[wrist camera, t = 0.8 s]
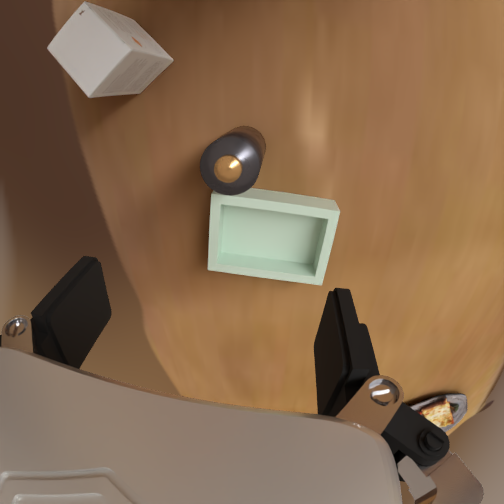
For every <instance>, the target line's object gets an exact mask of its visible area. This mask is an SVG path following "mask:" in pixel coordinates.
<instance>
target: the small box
mask: <svg viewBox="0 0 504 504" xmlns="http://www.w3.org/2000/svg"><path fill="white" fill-rule="evenodd" d="M47 49H48V51H49V52H50V53H51V54H52V55H53V57H54V58H55V59H56V60H57V61H58V62H59V64H60V65H61V66H62V67H63V68H64V69H65V71H66V72H67V73H68V74H69V75H70V77H71V78H72V79H73V80H74V81H75V82H76V84H77V85H78V86H79V87H80V88H81V90H82V91H83V92H84V93H85V94H86V95H87V97H88V98H94V97H104V96H115V95H128V94H140V93H141V92H142V91H143V90H144V89H145V88H146V87H147V86H148V85H149V84H150V83H151V82H152V81H153V80H154V79H155V78H156V77H157V76H158V75H159V74H161V73H162V72H163V71H164V70H165V69H166V68H167V67H168V66H169V65H170V64H171V63H172V62H173V61H174V60H173V59H172V58H171V57H170V56H169V55H168V54H167V53H166V52H165V50H164V49H163V48H162V47H161V46H160V45H159V44H158V43H157V42H156V41H155V40H154V39H153V38H152V37H151V36H150V35H149V34H148V33H147V32H146V31H145V30H144V29H143V28H142V27H141V26H140V25H139V24H138V23H137V22H136V21H135V20H133V19H131V18H129V17H126V16H124V15H121V14H119V13H117V12H114V11H111V10H109V9H106V8H103V7H100V6H97V5H95V4H92V3H89V2H86V1H85V2H84V3H83V4H82V5H81V6H80V7H79V8H78V9H77V10H76V11H75V13H74V14H73V15H72V16H71V17H70V19H69V20H68V21H67V22H66V23H65V25H64V26H63V27H62V28H61V30H60V31H59V32H58V34H57V35H56V36H55V37H54V39H53V40H52V42H51V43H50V44H49V46H48V47H47Z"/></svg>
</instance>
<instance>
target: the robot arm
mask: <svg viewBox="0 0 504 504" xmlns="http://www.w3.org/2000/svg"><path fill="white" fill-rule="evenodd" d="M31 314H32V317H33V318H32V319H31V320H30V319H29V318H28V317H26V316H23V315H19V316H15V317H13V318H11V319H9V320H8V321H7V322H6V323H5V324H4V326H3V328H2V335H0V504H402V497H401V488H400V482H399V480H400V481H404V482H406V483H407V484H408V486H409V487H410V489H408V490H409V492H410V493H411V494H412V495H413V498H414V500H415V504H480V503H481V501H482V499H483V495H484V493H483V487H482V485H481V483H480V482H479V481H478V480H477V478H476V477H475V476H474V475H473V474H472V472H471V471H470V470H469V469H468V467H467V466H466V465H465V464H464V463H463V461H462V460H461V459H460V458H459V457H458V455H457V454H456V453H454V454H453V455H452V453H451V452H450V451H449V439H448V436H447V435H446V433H445V432H444V431H443V430H442V429H441V428H439V427H438V426H437V425H435V424H434V423H432V422H431V421H429V420H428V419H426V418H425V417H423V416H422V415H420V414H419V413H418V412H416V411H415V410H413V409H412V408H410V407H409V406H408V405H406V404H405V403H403V402H402V401H403V398H404V393H403V390H402V387H401V386H400V385H399V383H398V382H397V381H395V380H394V379H392V378H390V377H388V376H383V375H380V374H379V370H378V366H377V362H376V358H375V354H374V351H373V347H372V343H371V339H370V336H369V332H368V328H367V326H366V325H365V324H360V323H359V321H358V318H357V314H356V310H355V306H354V303H353V299H352V296H351V292H350V290H349V289H342V288H335V289H334V291H329V293H328V296H327V300H326V304H325V307H324V311H323V314H322V318H321V321H320V325H319V328H318V332H317V335H316V338H315V342H314V357H315V371H316V387H317V405H318V414H310V413H301V412H290V411H280V410H270V409H261V408H253V407H245V406H238V405H230V404H224V403H217V402H211V401H205V400H200V399H194V398H189V397H184V396H179V395H173V394H169V393H165V392H160V391H156V390H151V389H147V388H143V387H139V386H135V385H131V384H127V383H124V382H120V381H116V380H113V379H109V378H106V377H102V376H99V375H96V374H93V373H90V372H86V371H83V370H80V369H79V368H80V366H81V365H82V363H83V361H84V360H85V358H86V356H87V355H88V353H89V351H90V350H91V348H92V346H93V345H94V343H95V342H96V340H97V338H98V337H99V335H100V334H101V332H102V330H103V329H104V327H105V326H106V324H107V323H108V321H109V319H110V317H111V307H110V303H109V299H108V295H107V291H106V286H105V282H104V277H103V272H102V267H101V263H100V262H98V260H97V258H95V257H89V256H83V257H82V258H81V259H80V260H79V261H78V262H77V263H76V264H75V265H74V266H73V267H72V268H71V269H70V270H69V271H68V272H67V274H66V275H65V276H64V277H63V278H62V279H61V280H60V281H59V282H58V283H57V284H56V286H54V288H53V289H51V291H50V292H49V293H48V294H47V295H46V296H45V297H44V298H43V299H42V301H41V302H40V303H39V304H38V305H37V306H36V307H35V309H34V310H33V311H32V312H31Z"/></svg>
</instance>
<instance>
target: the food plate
mask: <svg viewBox="0 0 504 504" xmlns="http://www.w3.org/2000/svg"><path fill="white" fill-rule="evenodd" d="M409 407H410V408H412V409H413V410H415V411H416V412H418V413H419V414H420V415H422V416H423V417H425V418H426V419H428V420H429V421H431V422H432V423H434V424H435V425H437V426H438V427H439V428H441V429H442V430H443V431H444V432H446V431H448V430H449V429H451V428H452V427H453V426H455V425H456V424H457V423H458V422H459V421H460V420H461V419H462V418H463V416H464V415H465V414H466V411H467V398H466V396H465V395H464V394H461V393H460V394H459V393H458V394H457V393H456V394H444V395H439V396H435V397H433V398H430V399H428V400H425V401H422V402H420V403H417V404H415V405H412V406H409Z"/></svg>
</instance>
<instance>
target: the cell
mask: <svg viewBox="0 0 504 504" xmlns="http://www.w3.org/2000/svg"><path fill="white" fill-rule="evenodd" d="M265 150H266V143H265V140H264V138H263V136H262V134H261V133H260V132H259V131H257V130H256V129H254V128H252V127H248V126H240V127H237V128H234V129H233V130H231V131H230V132H228V133H226V134H225V135H223V136H222V137H220V138H219V139H217V140H216V141H214V142H213V143H212V144H210V145H209V146H208V147H207V148H206V149H205V151H204V153H203V155H202V157H201V161H200V171H201V175H202V177H203V180H204V181H205V183H206V184H207V185H208V186H209V187H210V188H211V189H212V190H214V191H215V192H217V193H219V194H223V195H230V196H232V195H238V194H241V193H244V192H246V191H247V190H249V189H250V188H251V187H252V186H253V185H254V183H255V182H256V180H257V178H258V175H259V171H260V168H261V165H262V161H263V158H264V154H265Z"/></svg>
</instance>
